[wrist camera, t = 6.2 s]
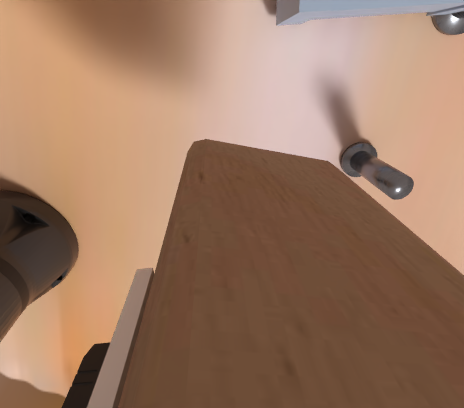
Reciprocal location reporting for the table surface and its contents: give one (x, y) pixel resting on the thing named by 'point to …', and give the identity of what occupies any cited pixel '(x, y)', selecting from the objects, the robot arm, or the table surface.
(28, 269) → the robot arm
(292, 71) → the table surface
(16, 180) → the table surface
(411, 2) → the grey i-beam block
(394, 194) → the gate posts
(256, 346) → the wooden block
